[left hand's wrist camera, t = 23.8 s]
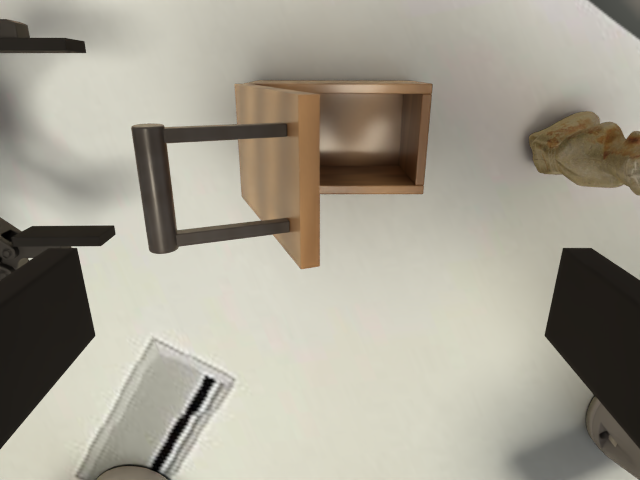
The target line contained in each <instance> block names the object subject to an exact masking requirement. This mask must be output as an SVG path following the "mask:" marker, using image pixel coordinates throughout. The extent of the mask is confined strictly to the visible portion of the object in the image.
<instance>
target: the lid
mask: <svg viewBox="0 0 640 480" xmlns="http://www.w3.org/2000/svg"><path fill="white" fill-rule="evenodd" d="M235 98H236V114H237V124H230V125H206V126H182V127H164V125H162V124H139V125H134V126H132V127H131V130H132V136H133V143H134V150H135V157H136V164H137V170H138V177H139V184H140V191H141V198H142V204H143V211H144V218H145V225H146V232H147V238H148V245H149V250H150V252H152V253H156V254H165V253H170V252H173V251H175V250H177V249H178V247H179V246H186V245H194V244H202V243H210V242H217V241H225V240H233V239H241V238H249V237H257V236H265V235H274V237H275V238H276V239H277V240H278V242H279V243H280V244H281V245H282V247H283V248H284V249H285V250H286V251H287V253H288V254H289V255H290V256H291V258H292V259H293V260H294V261H295V263H296V264H297V265H298V266H299V267H300V269H305V268H312V267H318V266H320V95H319V94H315V93H308V92H301V91H294V90H288V89H281V88H274V87H267V86H260V85H254V84H235ZM237 139H238V145H239V161H240V176H241V192H242V197H243V199H244V200H245V201H246V202H247V204H248V205H249V206H250V207H251V208H252V210H253V211H254V212H255V213H256V215H257V216H258V217H259V218H260V219H261V221H254V222H246V223H237V224H229V225H220V226H211V227H203V228H194V229H185V230H177V226H176V218H175V210H174V202H173V193H172V185H171V177H170V168H169V160H168V152H167V144H166V143H180V142H199V141H218V140H237Z"/></svg>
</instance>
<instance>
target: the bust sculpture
mask: <svg viewBox="0 0 640 480" xmlns="http://www.w3.org/2000/svg"><path fill="white" fill-rule="evenodd" d="M97 480H168V479H166V478H165V477H164V476H162V475H161V474H159V473H157V472H155V471H152V470H150V469H146V468H142V467H136V466H123V467H117V468H113V469H111V470H108V471H106V472H105V473H103V474H102V475H100V476H99V477H98V478H97Z"/></svg>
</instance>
